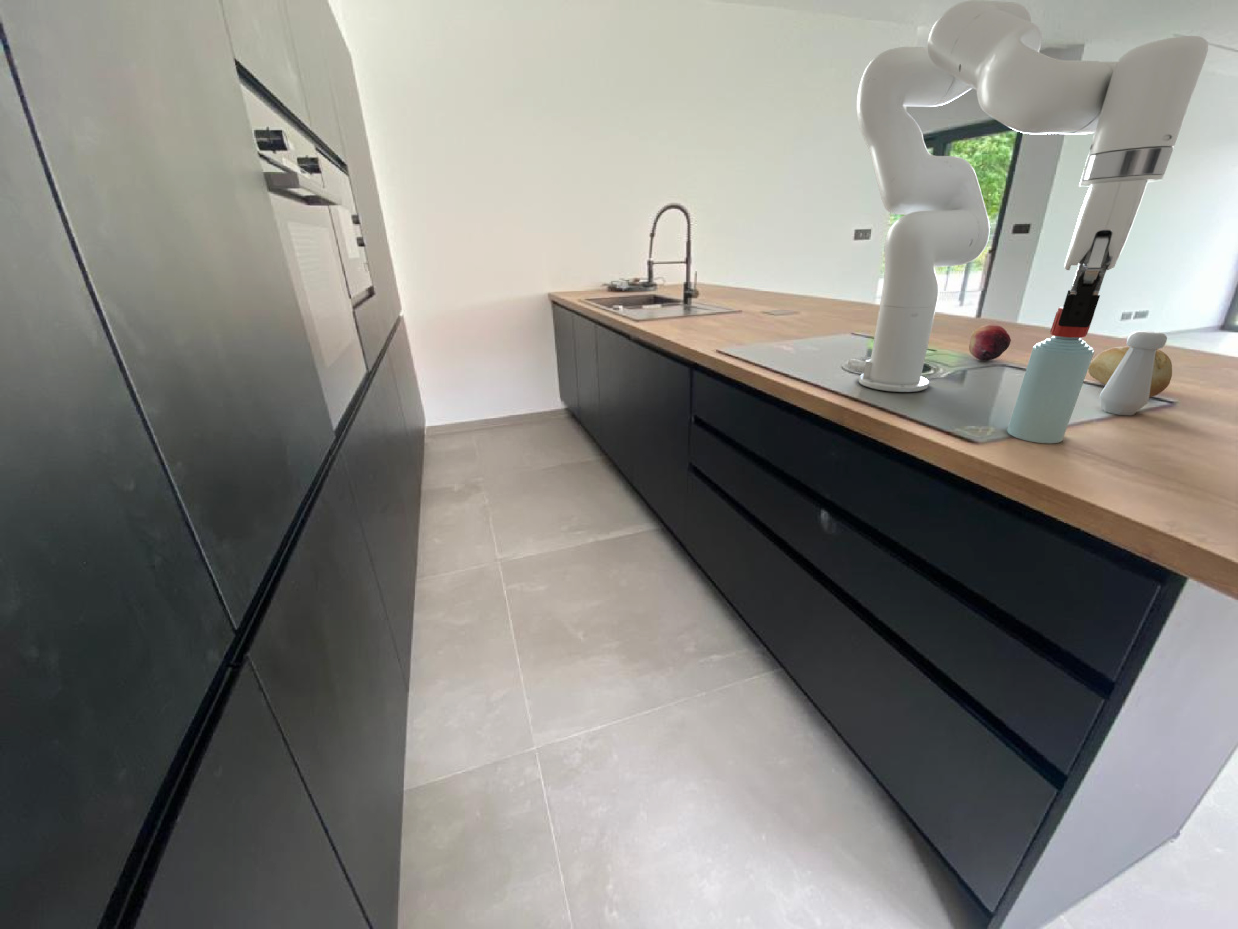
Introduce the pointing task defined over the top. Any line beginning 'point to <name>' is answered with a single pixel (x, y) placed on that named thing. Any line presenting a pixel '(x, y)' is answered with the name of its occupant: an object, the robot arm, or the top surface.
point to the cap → (1067, 328)
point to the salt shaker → (1132, 375)
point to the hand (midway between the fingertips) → (1073, 321)
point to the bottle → (1050, 389)
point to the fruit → (989, 342)
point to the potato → (1111, 358)
